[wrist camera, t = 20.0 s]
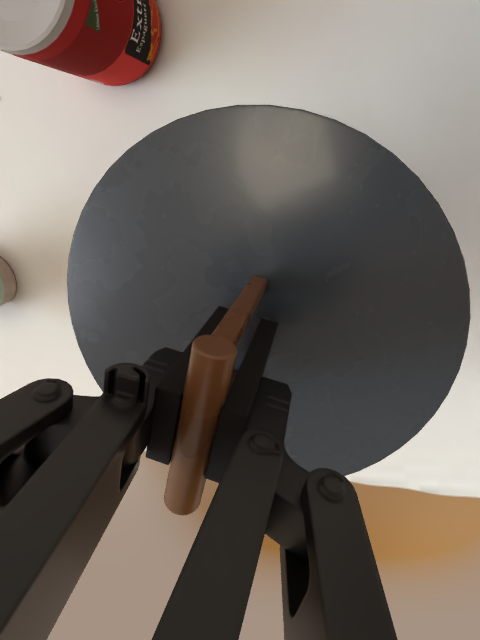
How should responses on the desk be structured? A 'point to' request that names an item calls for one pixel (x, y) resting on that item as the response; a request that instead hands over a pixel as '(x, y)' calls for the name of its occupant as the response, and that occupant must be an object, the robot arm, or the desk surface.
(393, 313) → the pan lid
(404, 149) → the desk surface
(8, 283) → the coffee cup
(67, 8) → the canned food
